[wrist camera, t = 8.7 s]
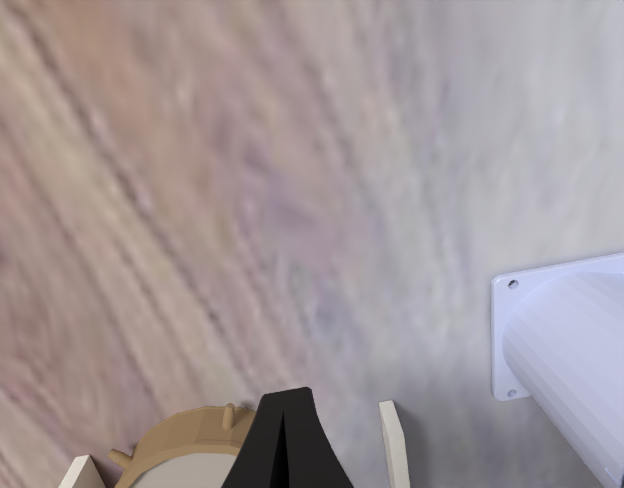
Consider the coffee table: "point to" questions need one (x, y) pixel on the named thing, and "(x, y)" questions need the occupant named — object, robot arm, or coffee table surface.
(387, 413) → the clock dock
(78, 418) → the coffee table surface
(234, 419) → the alarm clock
